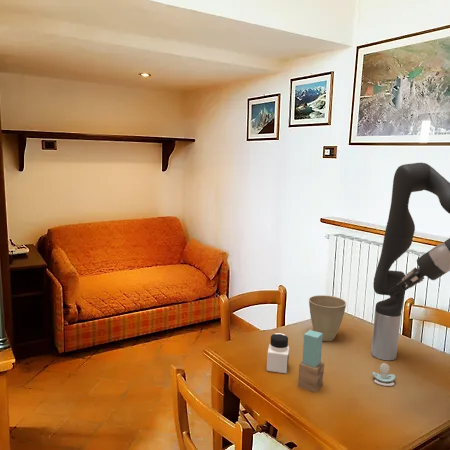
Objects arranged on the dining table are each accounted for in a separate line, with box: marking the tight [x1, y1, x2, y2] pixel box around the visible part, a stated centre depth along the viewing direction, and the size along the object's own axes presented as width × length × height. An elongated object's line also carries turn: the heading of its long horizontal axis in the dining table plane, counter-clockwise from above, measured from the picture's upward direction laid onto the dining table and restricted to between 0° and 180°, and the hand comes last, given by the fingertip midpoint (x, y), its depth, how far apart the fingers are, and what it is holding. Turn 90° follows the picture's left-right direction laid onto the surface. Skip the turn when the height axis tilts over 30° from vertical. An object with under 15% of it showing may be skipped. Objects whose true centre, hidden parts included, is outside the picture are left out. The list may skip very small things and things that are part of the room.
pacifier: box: [372, 362, 396, 387], centre depth 143 cm, size 7×6×6 cm
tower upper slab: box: [298, 360, 325, 381], centre depth 138 cm, size 6×6×4 cm
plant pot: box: [308, 294, 347, 342], centre depth 176 cm, size 15×15×16 cm
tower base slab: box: [297, 374, 324, 394], centre depth 139 cm, size 6×6×4 cm
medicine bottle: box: [266, 332, 290, 374], centre depth 150 cm, size 7×7×12 cm
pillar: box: [301, 329, 323, 368], centre depth 137 cm, size 4×4×10 cm
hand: (392, 291), depth 129 cm, fingers open, 8 cm apart
